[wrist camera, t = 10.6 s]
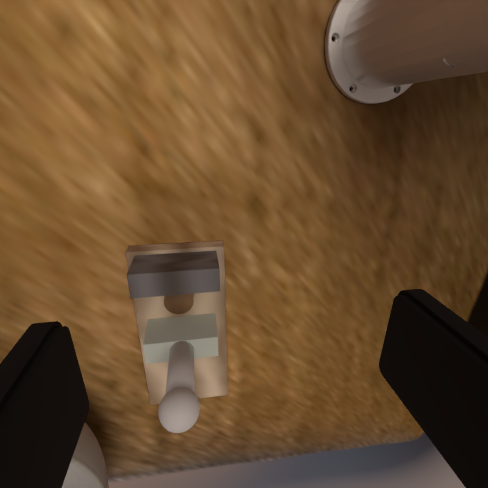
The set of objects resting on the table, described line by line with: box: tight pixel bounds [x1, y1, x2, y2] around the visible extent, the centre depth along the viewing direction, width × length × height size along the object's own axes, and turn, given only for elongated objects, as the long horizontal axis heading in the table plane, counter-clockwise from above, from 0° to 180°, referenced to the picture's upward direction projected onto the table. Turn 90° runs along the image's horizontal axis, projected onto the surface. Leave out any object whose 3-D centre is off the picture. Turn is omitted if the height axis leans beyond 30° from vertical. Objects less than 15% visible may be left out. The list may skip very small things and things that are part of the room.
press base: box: [126, 241, 228, 405], centre depth 41 cm, size 12×26×7 cm, turn 0°
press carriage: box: [143, 313, 218, 433], centre depth 35 cm, size 9×4×15 cm, turn 90°
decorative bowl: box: [62, 423, 109, 488], centre depth 41 cm, size 27×27×12 cm
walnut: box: [164, 293, 194, 314], centre depth 38 cm, size 4×4×3 cm
